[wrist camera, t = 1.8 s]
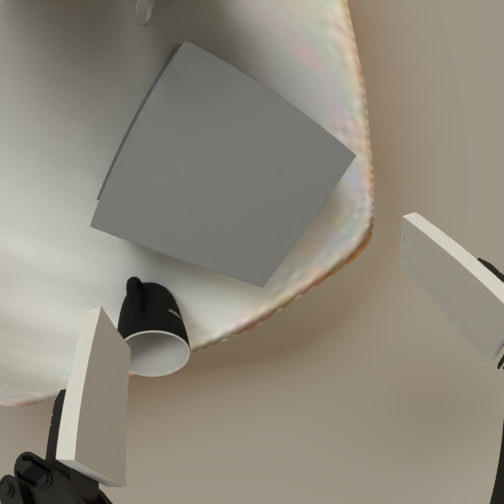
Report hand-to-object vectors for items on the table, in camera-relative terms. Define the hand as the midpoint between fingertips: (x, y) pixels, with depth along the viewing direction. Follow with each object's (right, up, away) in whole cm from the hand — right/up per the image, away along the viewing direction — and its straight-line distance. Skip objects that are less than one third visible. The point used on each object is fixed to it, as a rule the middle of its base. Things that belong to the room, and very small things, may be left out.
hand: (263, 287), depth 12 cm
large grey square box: (-5, +12, +21) cm, 25 cm away
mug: (-15, -4, +28) cm, 32 cm away
